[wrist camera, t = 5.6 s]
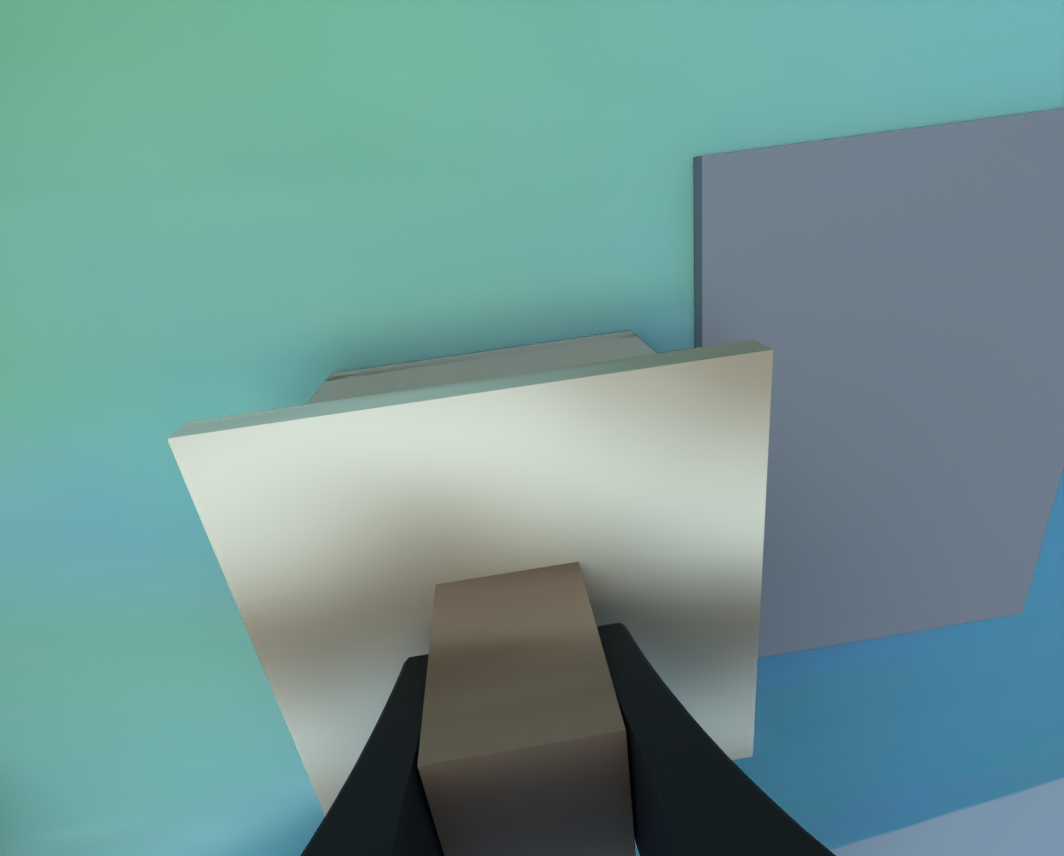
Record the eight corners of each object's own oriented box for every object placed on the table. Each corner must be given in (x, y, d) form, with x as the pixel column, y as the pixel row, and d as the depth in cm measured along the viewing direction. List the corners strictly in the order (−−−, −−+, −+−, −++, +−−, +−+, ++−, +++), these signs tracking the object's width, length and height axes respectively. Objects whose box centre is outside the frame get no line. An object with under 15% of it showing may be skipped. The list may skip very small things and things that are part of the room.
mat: (1008, 603, 23) (1022, 613, 22) (696, 655, 22) (702, 667, 22) (1145, 97, 16) (1170, 94, 15) (693, 157, 15) (702, 156, 15)
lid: (739, 729, 15) (846, 946, 11) (338, 799, 15) (280, 1053, 10) (753, 339, 11) (940, 436, 7) (188, 421, 11) (-18, 583, 6)
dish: (643, 571, 20) (691, 681, 16) (397, 611, 20) (374, 735, 15) (629, 330, 17) (688, 380, 12) (331, 372, 16) (275, 441, 12)
